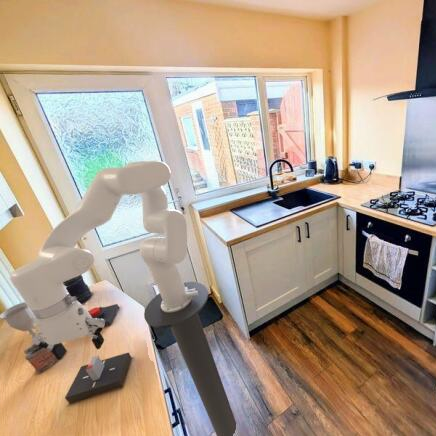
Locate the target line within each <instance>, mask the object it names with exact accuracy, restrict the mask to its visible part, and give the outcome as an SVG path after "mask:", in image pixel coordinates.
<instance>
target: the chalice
mask: <svg viewBox="0 0 436 436" xmlns="http://www.w3.org/2000/svg"><path fill="white" fill-rule="evenodd" d="M0 318H1V319H2V320H5V322H6V323H7V324H8V326H9V327H11V328H13V329H15V330H18V331H20V332H28V333H29V335H30V336H31V340H32V339H33V338H34V337H35V336H36V335H37V334H38V333H36V331H35V330H34V329H32V328H33V327H34V325H35V323H34V322H35V319H34V314H33V312H32V311H31V309H30V308H29V306H28V305H27V304H26V302H25V301H24V302H20V303H18V304H15V305H12V306H11V307H9V308H7V309H5V310H4V311H3V312H2V313H0Z"/></svg>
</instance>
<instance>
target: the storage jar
mask: <svg viewBox="0 0 436 436" xmlns="http://www.w3.org/2000/svg"><path fill="white" fill-rule="evenodd" d="M63 284H64V286H67V287H66V289H67V291H68V293H69V294H70V296H72V297H74V296H76V298H77V301H78V302H80V303H81V304H82V305H83V304H84V303H87V302H88V301H89V300H90V299H91V298H92V296H93V293H92V291H91V289H90V287H89V285H88V283H87V284H86V281H85V280H84V277H83V274H82V275H79V276H77V277H75V278H72V279H70V280H67V281H65V282H63Z"/></svg>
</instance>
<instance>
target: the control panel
mask: <svg viewBox="0 0 436 436" xmlns="http://www.w3.org/2000/svg"><path fill="white" fill-rule="evenodd" d="M132 359H133V357H132V355H131V354H130V352H125V353H121V354H118V355H115V356H112V357H108V358H105V359H101V361H102V363H103V364H104V369H103V371H102V373H101V376H100V378H99V379H98V380H95V381H93V380H92V379H91V377H90V376H89V374H88V373H87V371H86V369H87V367H88V365H89V363H88V364H84V365H81V366H80V368H79V370H78V372H77V373H76V376H75V377H74V379H73V381H72V383H71V385H70V387H69V389H68V391H67V393H66V395H65V396H64V399H65V400H66V402H68V404H69V405H71V404H74V403H77V402H80V401H84V400H86V399H90V398H93V397H96V396H99V395H102V394H105V393H108V392H112V391H114V390H118V389H120V388H124V387H123V386H124V383H125V380H126V378H127V374H128V371H129V368H130V366H131V362H132Z"/></svg>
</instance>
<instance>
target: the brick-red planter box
mask: <svg viewBox="0 0 436 436" xmlns="http://www.w3.org/2000/svg"><path fill="white" fill-rule="evenodd" d="M23 353H24V354H25V356H24V359H25V360H26V361H27V362H28V363H29V364H30V365H31V366H32V368H33V369H34V370H35V372H36V373H37V374H41V373H43V372H45V371H46V370H48V369H49V368H50V367H52V366H54V364H55V363H57V362H58V361H59V360H57V358H56V357H55V356H54V354H53V353H52V352H51V351H47V350H46V348H41V347H39V346H38V345H36V344H34V343H32V344H31V345H30V346H28V347H26V348H25V349H24V350H23Z"/></svg>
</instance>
